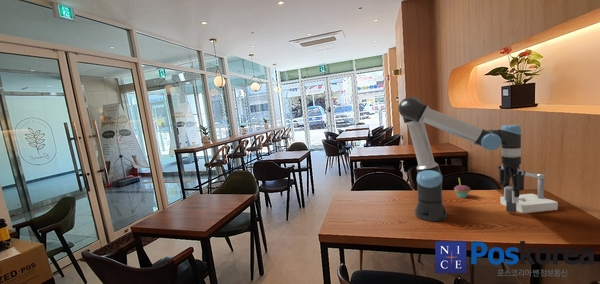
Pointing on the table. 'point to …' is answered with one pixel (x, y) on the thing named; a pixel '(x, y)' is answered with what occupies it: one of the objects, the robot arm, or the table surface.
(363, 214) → the table surface
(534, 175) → the clip
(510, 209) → the plug
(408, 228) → the table surface
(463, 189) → the cupcake
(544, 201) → the socket block
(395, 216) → the table surface
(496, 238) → the table surface
